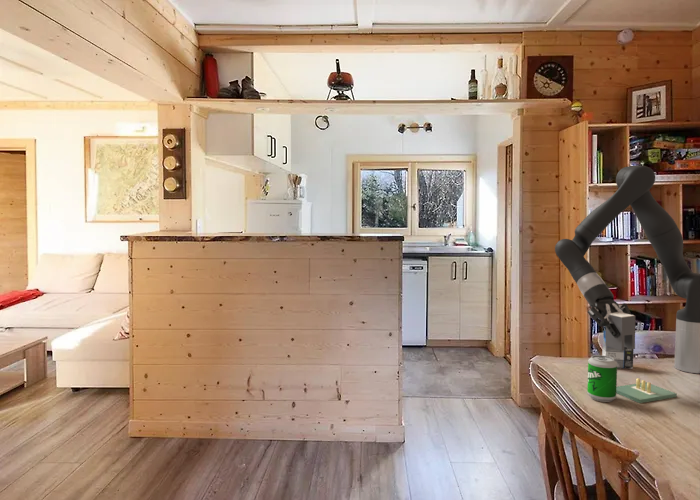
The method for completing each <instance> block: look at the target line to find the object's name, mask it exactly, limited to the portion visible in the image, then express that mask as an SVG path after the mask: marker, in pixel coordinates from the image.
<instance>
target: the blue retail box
mask: <svg viewBox="0 0 700 500" xmlns="http://www.w3.org/2000/svg"><path fill="white" fill-rule="evenodd" d="M602 332H603V337H602V352H601V353H602V354H601V355H602V356H608V357H611V358H613V359H614V360H615V361H616V362H617V369H629V370H631V369H632V370H633V369H634V350H635V349H630V348H627V347H624V351H621V350H618V349H615V348H612V347H608V346H606V330H603V331H602Z"/></svg>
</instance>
